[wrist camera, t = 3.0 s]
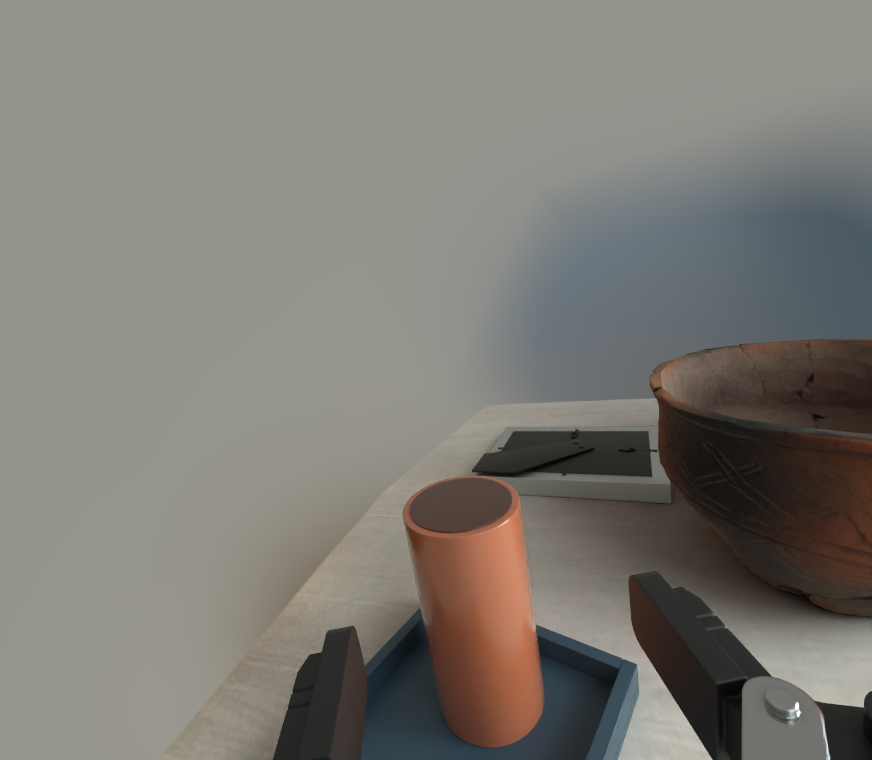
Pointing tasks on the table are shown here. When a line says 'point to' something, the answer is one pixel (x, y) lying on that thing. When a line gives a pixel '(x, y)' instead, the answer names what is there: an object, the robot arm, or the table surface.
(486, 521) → the tumbler
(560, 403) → the table surface
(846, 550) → the bowl
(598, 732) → the tray
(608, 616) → the table surface
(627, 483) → the picture frame
